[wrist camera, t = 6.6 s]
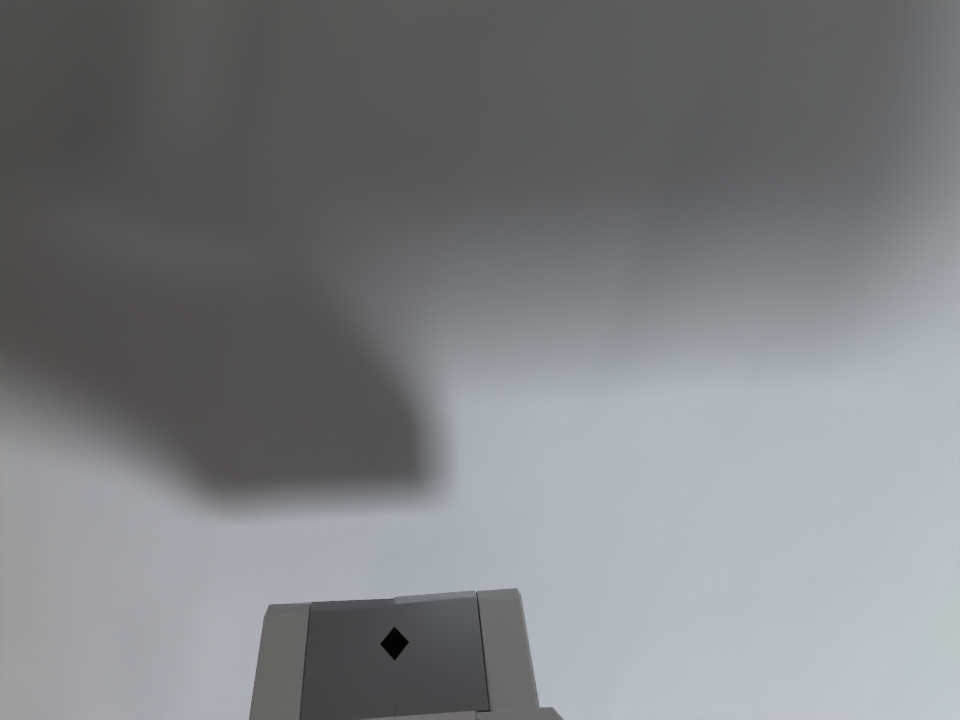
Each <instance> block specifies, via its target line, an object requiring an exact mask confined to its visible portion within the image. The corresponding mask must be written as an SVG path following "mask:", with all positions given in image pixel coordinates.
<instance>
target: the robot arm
mask: <svg viewBox="0 0 960 720" xmlns="http://www.w3.org/2000/svg"><path fill="white" fill-rule="evenodd" d="M249 720H564V719H563V718H562V717H561V716H560V715H559V714H558V713H557V712H556V711H555V710H554V708H553V707H541V708H540V706H539V700H538V695H537V689H536V683H535V677H534V671H533V665H532V659H531V653H530V647H529V641H528V635H527V629H526V623H525V617H524V611H523V605H522V599H521V595H520V593H519V591H518V590H517V588H515V589H501V590H486V591H477V592H476V593H475V591H463V592H451V593H438V594H426V595H414V596H401V597H395V599H371V600H348V601H324V602H308V603H290V604H271V605H269V606H268V609H267V611H266V614H265V616H264V621H263V627H262V634H261V641H260V648H259V655H258V662H257V668H256V675H255V682H254V689H253V696H252V702H251V709H250V716H249Z"/></svg>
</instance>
